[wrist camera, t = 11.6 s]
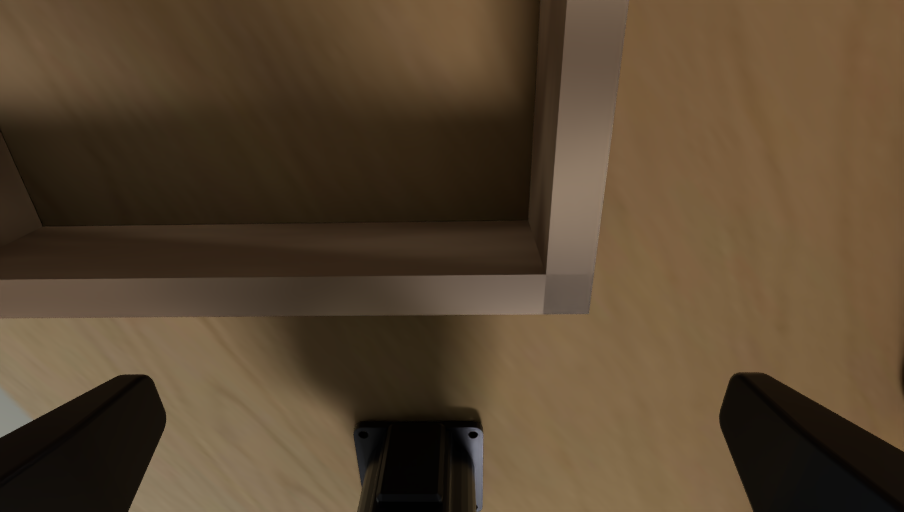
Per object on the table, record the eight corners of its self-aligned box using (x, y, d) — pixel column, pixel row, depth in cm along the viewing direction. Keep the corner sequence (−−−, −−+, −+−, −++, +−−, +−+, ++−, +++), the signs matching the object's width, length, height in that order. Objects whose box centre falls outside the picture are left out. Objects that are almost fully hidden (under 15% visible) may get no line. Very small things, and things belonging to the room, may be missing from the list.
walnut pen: (562, 253, 20) (588, 313, 16) (22, 259, 20) (-87, 318, 16) (611, -266, 13) (680, -399, 9) (-214, -232, 13) (-509, -341, 9)
